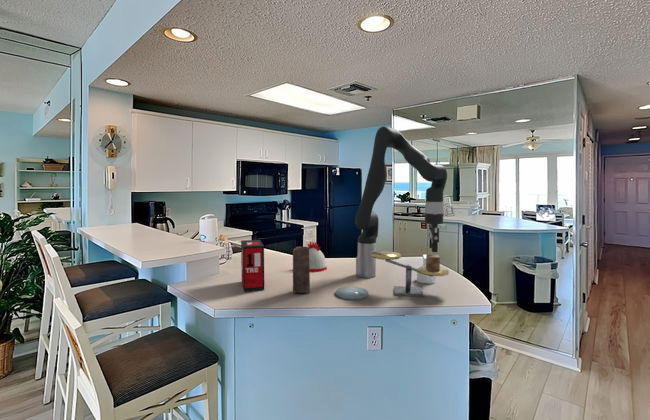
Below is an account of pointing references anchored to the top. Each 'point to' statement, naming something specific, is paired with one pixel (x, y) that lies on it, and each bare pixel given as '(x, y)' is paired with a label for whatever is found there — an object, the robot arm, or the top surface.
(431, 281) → the cylinder with rectangular tab
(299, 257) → the candle
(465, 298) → the top surface
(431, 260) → the walnut block
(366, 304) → the top surface
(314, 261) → the kitchen timer
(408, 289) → the balance
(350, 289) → the dish
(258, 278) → the cleaning product box
